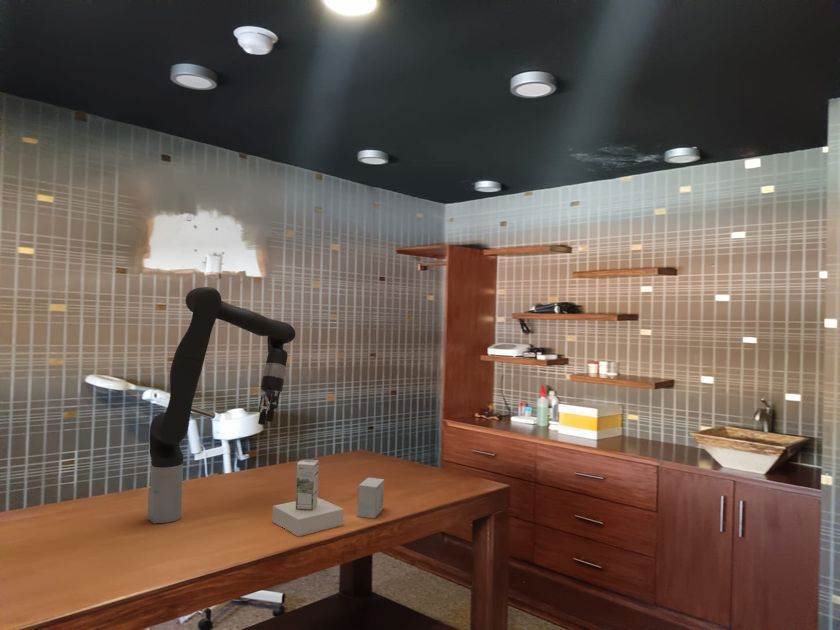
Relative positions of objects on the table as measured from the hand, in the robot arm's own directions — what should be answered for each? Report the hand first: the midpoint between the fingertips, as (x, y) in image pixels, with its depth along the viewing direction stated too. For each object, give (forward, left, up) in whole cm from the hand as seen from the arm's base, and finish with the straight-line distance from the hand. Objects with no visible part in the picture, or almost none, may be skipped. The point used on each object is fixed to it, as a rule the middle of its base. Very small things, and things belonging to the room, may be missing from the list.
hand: (264, 423), depth 197 cm
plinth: (+3, -25, -28) cm, 38 cm away
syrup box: (+3, -24, -24) cm, 34 cm away
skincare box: (+25, -29, -29) cm, 48 cm away
